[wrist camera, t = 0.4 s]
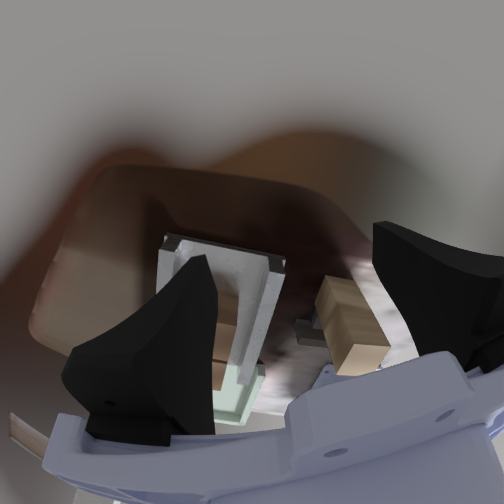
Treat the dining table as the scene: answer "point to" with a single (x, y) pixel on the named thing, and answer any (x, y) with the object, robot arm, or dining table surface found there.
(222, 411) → the tray
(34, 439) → the dining table surface
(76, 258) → the dining table surface
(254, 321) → the silver metal tray
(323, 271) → the dining table surface
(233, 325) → the walnut block
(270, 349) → the dining table surface
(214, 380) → the walnut block
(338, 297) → the tan block
